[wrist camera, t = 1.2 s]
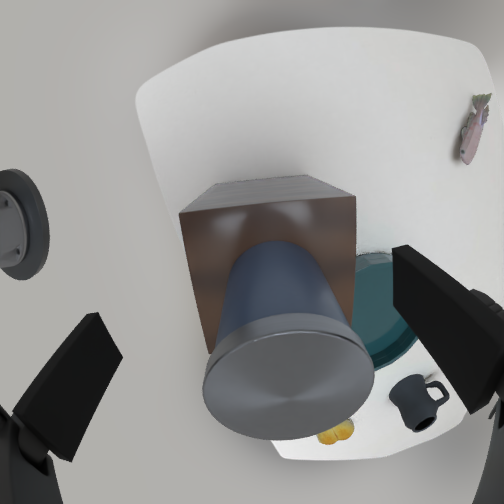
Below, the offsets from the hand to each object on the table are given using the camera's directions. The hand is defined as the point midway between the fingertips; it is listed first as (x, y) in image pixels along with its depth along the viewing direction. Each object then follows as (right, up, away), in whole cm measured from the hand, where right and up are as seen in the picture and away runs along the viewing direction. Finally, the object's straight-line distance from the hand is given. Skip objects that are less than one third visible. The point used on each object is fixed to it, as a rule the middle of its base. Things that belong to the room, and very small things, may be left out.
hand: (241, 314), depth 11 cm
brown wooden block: (+2, +6, +26) cm, 27 cm away
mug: (+36, -27, +38) cm, 59 cm away
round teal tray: (+19, -7, +31) cm, 37 cm away
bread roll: (+19, -38, +42) cm, 60 cm away
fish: (+35, +23, +20) cm, 46 cm away
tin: (+2, 0, +9) cm, 9 cm away
